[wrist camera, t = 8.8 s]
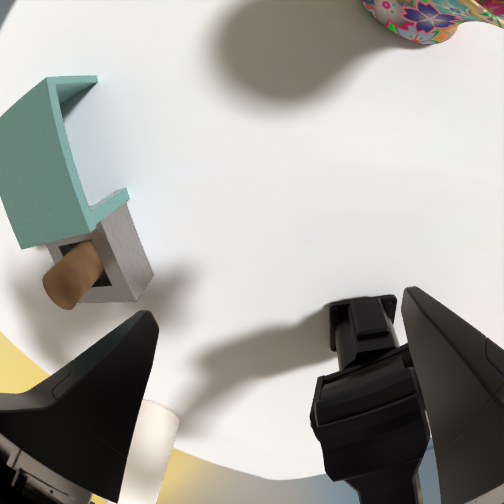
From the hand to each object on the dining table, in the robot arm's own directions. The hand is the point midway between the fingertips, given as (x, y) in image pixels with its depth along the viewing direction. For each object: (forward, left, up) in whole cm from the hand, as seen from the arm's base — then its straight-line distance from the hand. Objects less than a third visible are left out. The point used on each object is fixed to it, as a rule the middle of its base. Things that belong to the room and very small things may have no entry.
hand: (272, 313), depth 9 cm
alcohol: (-34, +26, -13) cm, 45 cm away
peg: (-2, +17, -13) cm, 21 cm away
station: (+4, +17, -13) cm, 22 cm away
